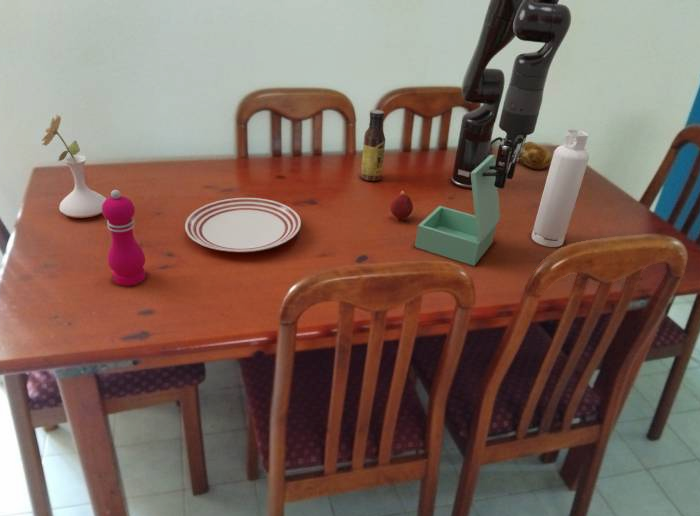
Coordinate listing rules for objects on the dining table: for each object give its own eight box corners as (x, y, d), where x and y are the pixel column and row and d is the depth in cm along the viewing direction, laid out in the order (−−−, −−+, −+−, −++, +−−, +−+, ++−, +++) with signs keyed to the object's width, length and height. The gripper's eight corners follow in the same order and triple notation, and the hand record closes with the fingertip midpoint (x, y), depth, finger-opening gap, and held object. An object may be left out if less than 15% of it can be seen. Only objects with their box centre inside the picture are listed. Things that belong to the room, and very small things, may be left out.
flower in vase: (82, 198, 155) (62, 101, 141) (119, 207, 153) (103, 109, 139) (45, 219, 145) (20, 116, 131) (84, 229, 142) (63, 124, 128)
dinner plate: (204, 271, 130) (203, 258, 129) (173, 217, 150) (172, 205, 148) (319, 249, 142) (319, 237, 140) (276, 202, 162) (276, 190, 160)
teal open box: (414, 247, 146) (418, 225, 143) (436, 226, 156) (439, 205, 153) (474, 266, 141) (479, 243, 137) (492, 242, 151) (497, 221, 148)
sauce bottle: (379, 183, 177) (386, 116, 166) (358, 180, 178) (364, 113, 166) (382, 175, 182) (389, 109, 171) (362, 172, 183) (368, 107, 172)
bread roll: (506, 158, 202) (511, 135, 197) (528, 155, 206) (533, 132, 201) (532, 173, 192) (538, 149, 188) (554, 169, 197) (561, 145, 192)
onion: (414, 218, 159) (418, 190, 155) (406, 226, 155) (410, 198, 150) (393, 212, 161) (397, 185, 157) (385, 221, 157) (388, 192, 152)
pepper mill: (116, 268, 129) (100, 181, 118) (150, 269, 130) (138, 183, 118) (107, 287, 123) (90, 197, 112) (144, 287, 124) (130, 198, 112)
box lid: (470, 172, 130) (496, 172, 127) (490, 154, 140) (514, 153, 138) (477, 241, 137) (501, 242, 134) (495, 219, 147) (518, 219, 145)
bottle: (524, 236, 155) (552, 130, 139) (544, 229, 159) (573, 125, 144) (550, 250, 150) (582, 141, 134) (569, 242, 154) (602, 135, 138)
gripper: (529, 120, 119) (510, 197, 128) (547, 104, 129) (528, 176, 139) (493, 111, 121) (477, 188, 131) (513, 96, 132) (497, 168, 142)
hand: (503, 182), depth 135 cm, fingers closed on box lid, 6 cm apart
